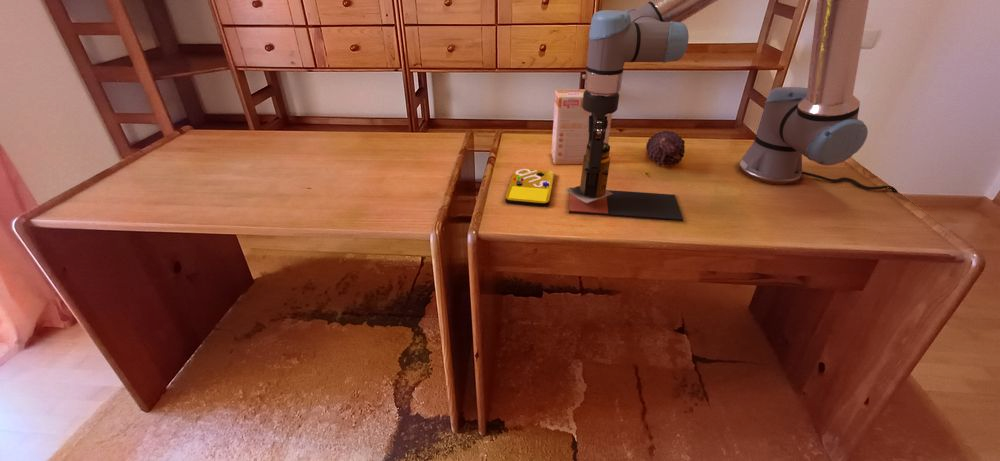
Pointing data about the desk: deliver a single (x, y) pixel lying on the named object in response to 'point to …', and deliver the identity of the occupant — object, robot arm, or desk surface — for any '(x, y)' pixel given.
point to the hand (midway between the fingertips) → (589, 188)
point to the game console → (530, 188)
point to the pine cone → (666, 148)
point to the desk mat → (630, 206)
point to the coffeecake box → (571, 127)
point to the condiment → (602, 177)
